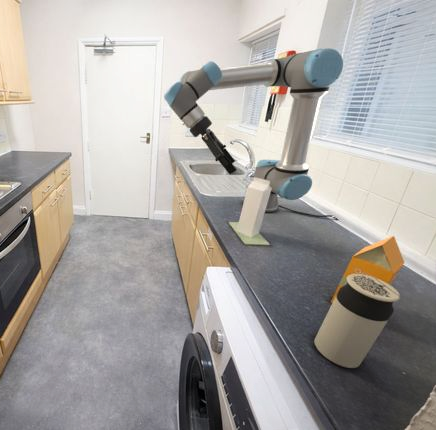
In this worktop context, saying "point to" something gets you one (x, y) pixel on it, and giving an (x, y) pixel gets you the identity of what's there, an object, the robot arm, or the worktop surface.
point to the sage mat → (247, 240)
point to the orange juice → (375, 262)
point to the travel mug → (355, 319)
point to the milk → (254, 207)
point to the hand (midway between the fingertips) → (232, 167)
